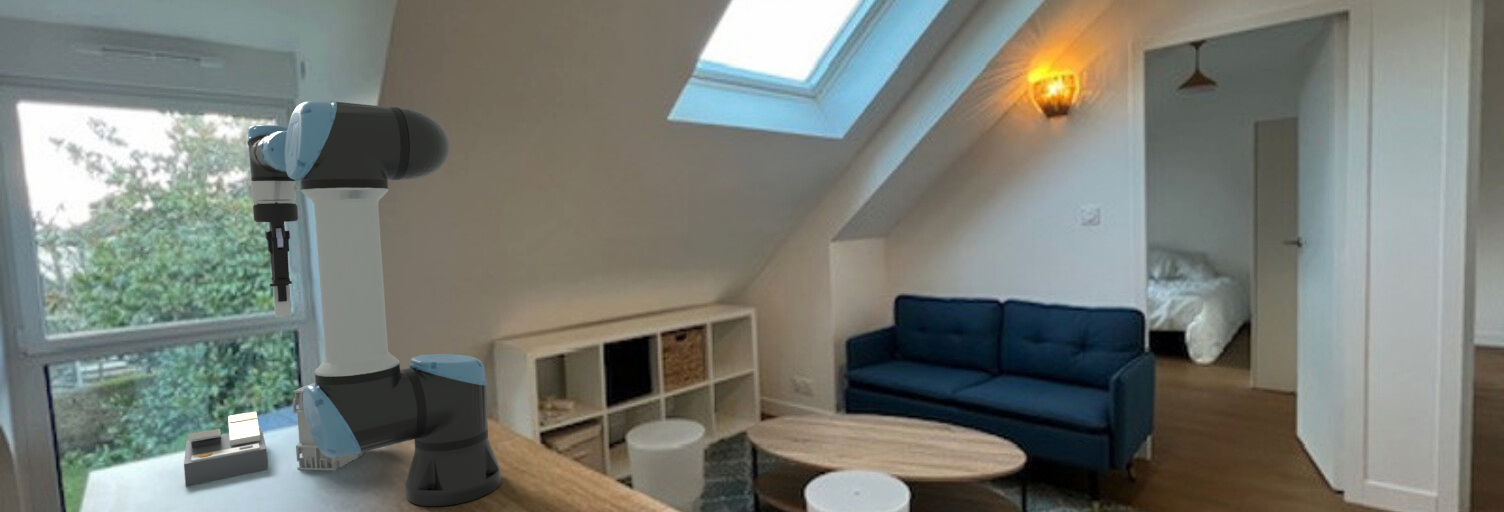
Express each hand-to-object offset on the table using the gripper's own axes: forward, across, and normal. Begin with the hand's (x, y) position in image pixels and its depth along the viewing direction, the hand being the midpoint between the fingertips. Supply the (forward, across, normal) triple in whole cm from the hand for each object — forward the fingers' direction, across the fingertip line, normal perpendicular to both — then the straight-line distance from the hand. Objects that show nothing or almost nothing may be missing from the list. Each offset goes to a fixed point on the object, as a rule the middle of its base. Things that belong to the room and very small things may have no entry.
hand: (283, 316), depth 144 cm
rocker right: (+20, -6, +8) cm, 23 cm away
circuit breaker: (+27, -17, -7) cm, 32 cm away
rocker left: (+20, -6, +14) cm, 25 cm away
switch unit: (+26, -8, +11) cm, 30 cm away
